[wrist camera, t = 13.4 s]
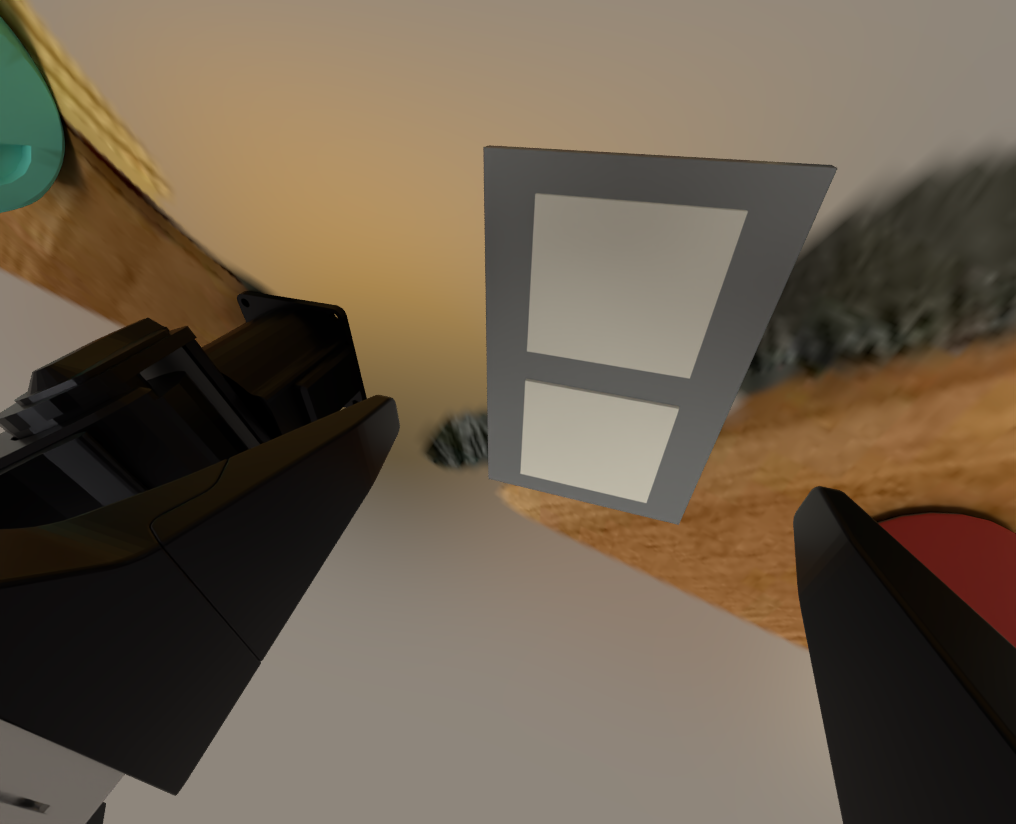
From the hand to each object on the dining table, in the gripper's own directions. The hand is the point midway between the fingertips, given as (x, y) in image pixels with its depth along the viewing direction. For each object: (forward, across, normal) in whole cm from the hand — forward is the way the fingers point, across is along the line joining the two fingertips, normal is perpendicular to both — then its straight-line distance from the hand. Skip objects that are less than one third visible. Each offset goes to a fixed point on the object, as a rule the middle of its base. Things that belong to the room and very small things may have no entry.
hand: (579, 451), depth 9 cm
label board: (+10, 0, +4) cm, 11 cm away
